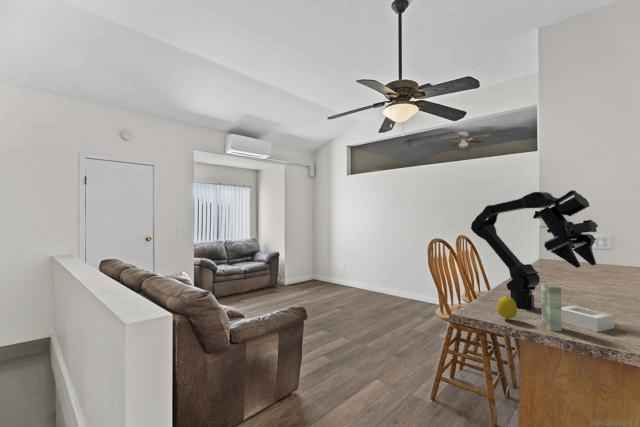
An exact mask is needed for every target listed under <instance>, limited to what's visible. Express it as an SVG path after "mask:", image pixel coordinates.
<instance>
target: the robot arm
mask: <svg viewBox="0 0 640 427" xmlns="http://www.w3.org/2000/svg"><path fill="white" fill-rule="evenodd" d="M589 207H590V203H589V201H588V199H587V198H586V197H584V196H583V195H581V194H580V193H579V192H577V191H576V190H569V191H568V192H567V193H565V194H564V195H562V196H560V197H559V198H558V197H554V196H553V195H552V194H551V193H550V192H549V191H548V192H546V191H534V192H530V193H528V194H525V195H523V196H522V197H520V198H518V199H512V200H509V201H505V202H500V203H495V204H488V205H486V206H485V207H484V209H483V210H482V211H481V212H480V213H479V214H478V215H477V216H475V218H474V220H473V221H472V222H471V224H470V225H471V227H470V229H471V231H472V232H473V233H474V234H475V235H476V236H477V237H479V238H480V239H483V240H484V241H485V242H486V243H487V244H488V245H489V246H490V248H491V249H492V250H493V251H494V253H496V255H497V256H498V257H499V258H500V260H501V262H503V264H505V266H506V267H507V268H508V271H509V276H510V278H511V279H510V281H509V282H507V283H506V288H507V290H508V291H510V298H512V299H513V300H514V301H515V303H516V306H517V309H523V310H531V309H533V308H535V295H533V291H535V290H536V287H537V286H538V285H539V284H540V279H541V278H540V276H539V272H538V271H537V270H536V269H535V268H534V267H533V265H532V264H531V263H528V264H527V263H526V264H524V263H522V261H520V259H518V257H517V256H516V255H515V254H514V253H513V252H512V250H511V249H510V248H509V247H508V246H507V245H506V243H505V242H504V241H503V240H502V238H500V236H499V235H498V234H497V229H496V226H495V224H496V223H497V220H498V216H499V214H502V213H503V214H504V213H509V212H513V211H520V210H525V209H542V210H535V211H534V214H533V217H532V218H533V220H534V219H541V220H542V221H543V223H544V224H545V226H546V228H547V229H546V232H547V233H548V234H552V236H553V238H550V239H548V240H546V241H545V242H544V245H543V246H544V248H545V249H546V251H547V252H548V251H549V252H550V253H552V254H554V255H556V256H558V257H559V258H560V259H562V260H564V261H565V262H568V263H569V264H570V265H571V266H573V267H574V268H578V269H579V268H580V267H581V264H580V262H579V259H578V258H577V256H576V254H578V256H579V257H581V258H582V259H583V260H584V261H586V262H587V263H588V264H590V265H591V266H595V265H597V262H596V258H595V256H594V255H595V254H594V252H593V249H592V248H593V245H594V244H595V243H596V242H595V241H597V239H596V238H595V236H594V235H593V234H590V233H596V232H597V230H598V229H597V227H599V225H598V223H596V221H594V220H592V219H588V220H583V221H582V222H577V223H574V222H572V221H568V220H567V218H566V217H565V216H568V217H572V216H574V215H575V214H578V213H579V212H582V211H583V210H585V209H587V208H589ZM574 252H575V253H576V254H575V253H574Z"/></svg>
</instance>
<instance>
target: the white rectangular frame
mask: <svg viewBox="0 0 640 427" xmlns="http://www.w3.org/2000/svg"><path fill="white" fill-rule="evenodd" d="M614 316H615V315H614V314H613V313H607V312H603V311H600V310H596V309H591V308H586V307H582V306H578V305H574V304H573V305H567V306H561V319H562V323H564V324H568V325H571V326H575V327H579V328H581V329H585V330H588V331H591V332H592V331H593V332H596V333H600V332H603V331H607V330H612V329H614V328H615V318H614Z"/></svg>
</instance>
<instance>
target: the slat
mask: <svg viewBox="0 0 640 427" xmlns="http://www.w3.org/2000/svg"><path fill="white" fill-rule="evenodd" d="M540 285H541V286H540V289H541V290H540V292H541V293H540V294H541V296H540V297H541V298H540V299H541V325H542V326H543V327H545V328H546V329H547V330H548V331H554V332H555V331H556V332H562V330H563V328H562V326H563V325H562V323H563V322H562V319H561V307H562V287H561V286H559V285H557V284H554V283H551V282H550V283H549V282H547V283H546V282H545V283H544V282H541V283H540Z"/></svg>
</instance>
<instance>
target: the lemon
mask: <svg viewBox="0 0 640 427" xmlns="http://www.w3.org/2000/svg"><path fill="white" fill-rule="evenodd" d="M496 310H497V311H498V314H499V315H500V316H501V317H502V318H504V319H505V320H507V321H509V320H510V319H513V318H515V317H516V315H517V313H518V308H517V306H516V303H515V301H514V300H513V299H512V298H511V296H509V295H504V296H502V297H500V298H499V299H498V301H497V303H496Z"/></svg>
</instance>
